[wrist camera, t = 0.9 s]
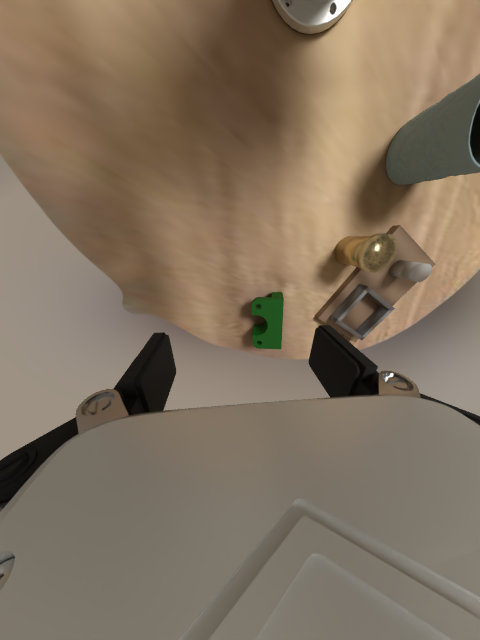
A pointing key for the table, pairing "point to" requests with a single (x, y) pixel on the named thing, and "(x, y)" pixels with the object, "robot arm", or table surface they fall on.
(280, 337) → the clamp
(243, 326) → the table surface
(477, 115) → the grey-green cup
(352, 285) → the fitting board
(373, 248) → the brass door knob
